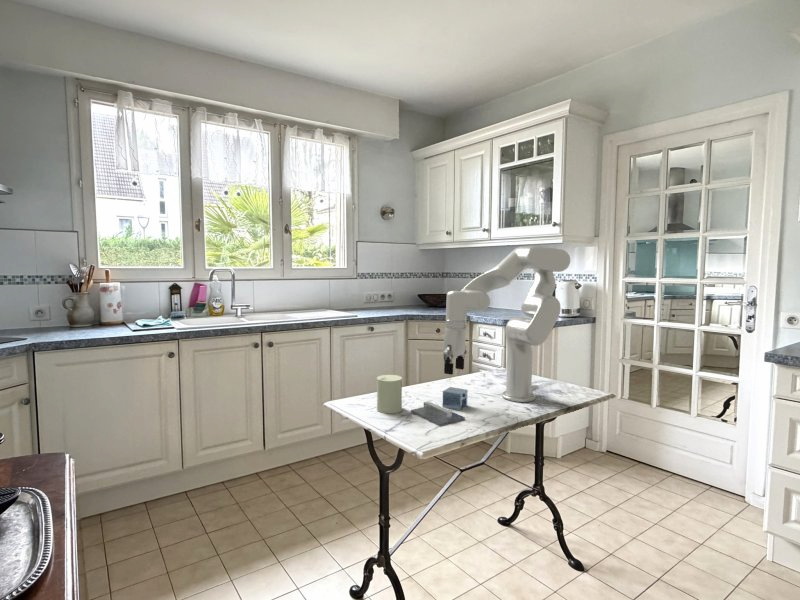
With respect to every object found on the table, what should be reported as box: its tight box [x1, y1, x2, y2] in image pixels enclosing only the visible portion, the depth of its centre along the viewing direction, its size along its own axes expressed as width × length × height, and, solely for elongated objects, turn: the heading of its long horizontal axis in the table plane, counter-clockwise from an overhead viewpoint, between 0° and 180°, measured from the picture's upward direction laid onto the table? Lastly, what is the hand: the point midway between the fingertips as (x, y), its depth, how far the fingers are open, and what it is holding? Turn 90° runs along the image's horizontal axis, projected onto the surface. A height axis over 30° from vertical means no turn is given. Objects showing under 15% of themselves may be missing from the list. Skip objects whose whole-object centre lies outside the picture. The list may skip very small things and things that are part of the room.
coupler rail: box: [410, 401, 466, 427], centre depth 155 cm, size 11×16×3 cm
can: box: [376, 374, 403, 414], centre depth 162 cm, size 9×9×12 cm
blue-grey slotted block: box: [442, 386, 469, 411], centre depth 165 cm, size 6×7×6 cm
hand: (454, 371), depth 164 cm, fingers open, 9 cm apart
